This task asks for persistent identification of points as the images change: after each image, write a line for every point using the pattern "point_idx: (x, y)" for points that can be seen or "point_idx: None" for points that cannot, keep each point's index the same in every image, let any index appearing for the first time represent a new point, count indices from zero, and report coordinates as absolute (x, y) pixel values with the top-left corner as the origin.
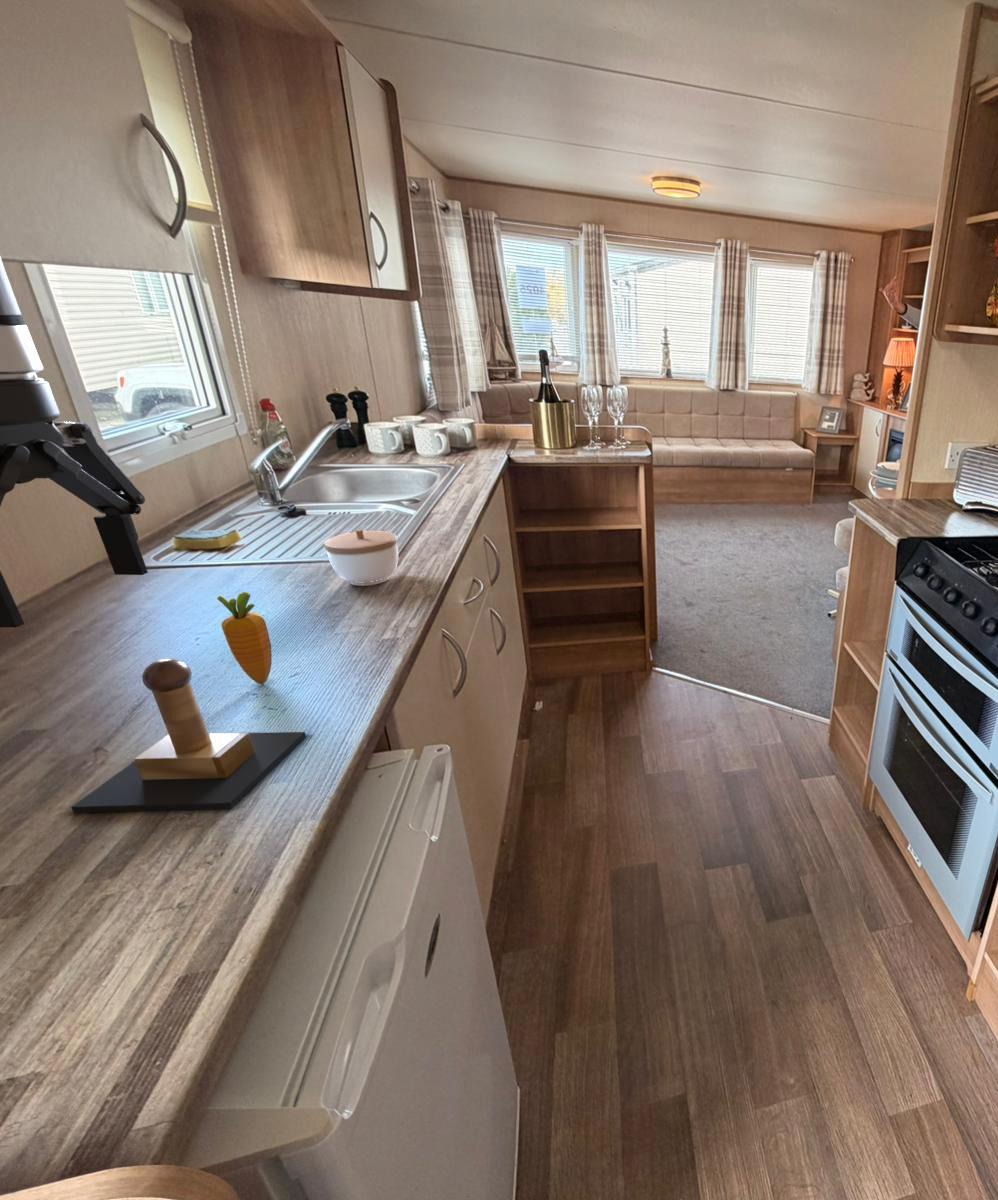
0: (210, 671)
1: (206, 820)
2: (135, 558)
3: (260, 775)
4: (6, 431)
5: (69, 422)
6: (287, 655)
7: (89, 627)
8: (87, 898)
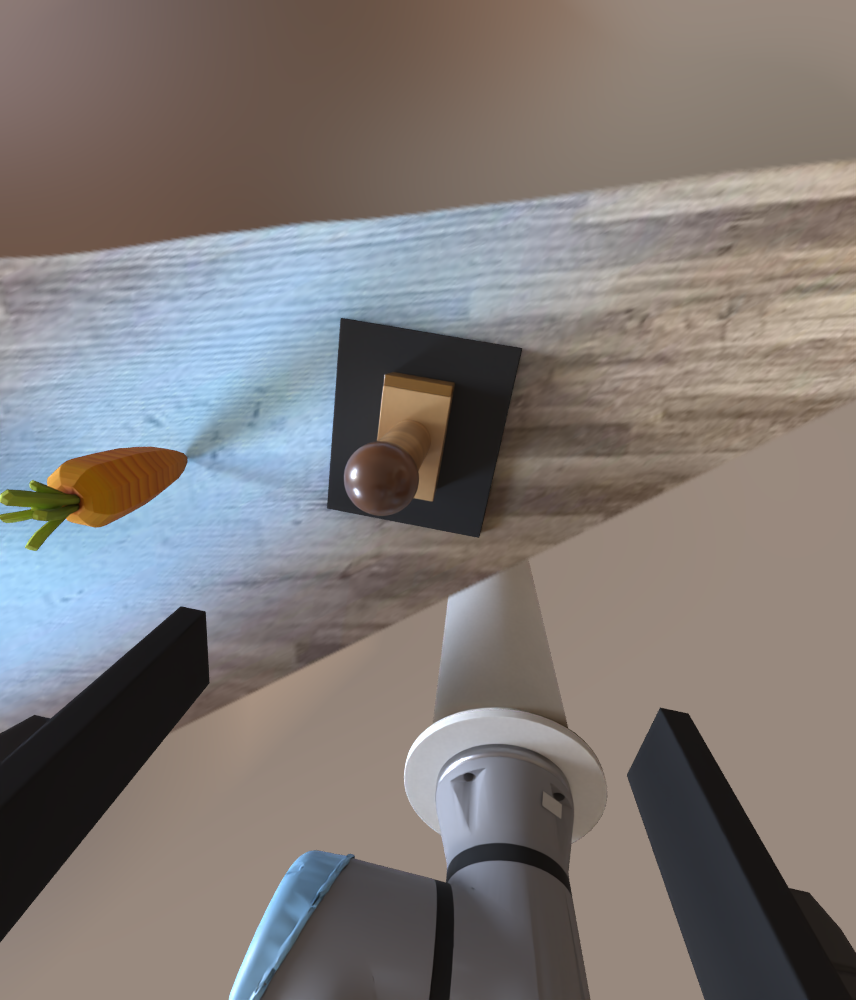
0: (153, 543)
1: (539, 370)
2: (156, 662)
3: (454, 337)
4: None
5: None
6: None
7: None
8: (660, 435)
